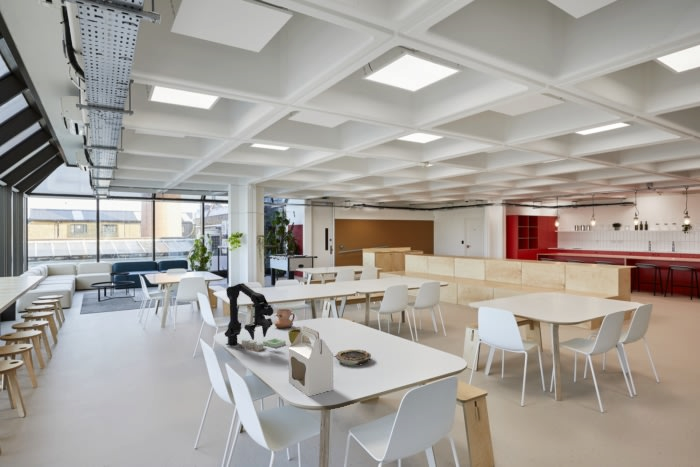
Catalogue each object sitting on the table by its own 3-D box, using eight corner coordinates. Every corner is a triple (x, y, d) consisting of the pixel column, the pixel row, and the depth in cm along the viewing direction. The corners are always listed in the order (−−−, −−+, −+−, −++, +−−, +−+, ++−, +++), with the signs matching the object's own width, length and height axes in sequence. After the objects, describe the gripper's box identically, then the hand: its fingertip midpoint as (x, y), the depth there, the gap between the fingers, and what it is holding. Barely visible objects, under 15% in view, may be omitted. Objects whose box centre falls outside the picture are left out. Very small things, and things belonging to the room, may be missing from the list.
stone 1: (241, 346, 260) (241, 340, 260) (246, 345, 263) (246, 339, 263) (245, 347, 257) (245, 341, 257) (250, 346, 260) (250, 340, 260)
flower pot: (300, 346, 262) (300, 332, 262) (288, 345, 264) (288, 332, 264) (304, 342, 271) (304, 329, 271) (292, 341, 273) (292, 329, 273)
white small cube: (247, 348, 255) (247, 342, 255) (252, 346, 259) (252, 340, 259) (252, 349, 253) (252, 343, 253) (256, 347, 257) (256, 341, 257)
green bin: (263, 345, 264) (263, 341, 264) (273, 342, 271) (273, 338, 271) (274, 348, 257) (274, 343, 257) (285, 345, 264) (285, 340, 264)
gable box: (288, 382, 197) (288, 326, 197) (311, 377, 204) (311, 323, 205) (309, 397, 178) (308, 335, 179) (333, 390, 186) (333, 331, 186)
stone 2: (254, 349, 252) (254, 343, 252) (259, 348, 255) (259, 342, 255) (257, 351, 249) (257, 344, 249) (263, 349, 252) (263, 343, 252)
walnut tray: (238, 347, 259) (238, 346, 259) (247, 345, 265) (247, 343, 265) (257, 352, 247) (257, 351, 247) (266, 350, 253) (266, 348, 253)
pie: (386, 361, 230) (386, 353, 230) (353, 374, 211) (353, 364, 211) (352, 352, 250) (352, 344, 250) (319, 362, 231) (319, 353, 231)
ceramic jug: (276, 330, 306) (277, 312, 306) (270, 326, 319) (271, 309, 319) (298, 328, 316) (298, 310, 316) (291, 324, 328) (291, 307, 328)
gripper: (255, 318, 240) (255, 343, 240) (278, 313, 255) (278, 337, 255) (243, 316, 247) (243, 340, 247) (266, 311, 262) (266, 334, 262)
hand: (258, 338), depth 252 cm, fingers open, 9 cm apart
